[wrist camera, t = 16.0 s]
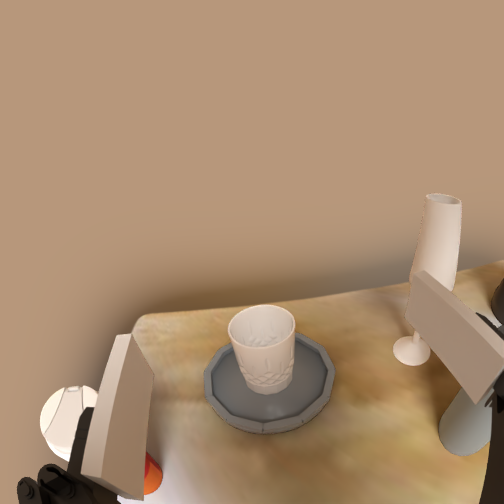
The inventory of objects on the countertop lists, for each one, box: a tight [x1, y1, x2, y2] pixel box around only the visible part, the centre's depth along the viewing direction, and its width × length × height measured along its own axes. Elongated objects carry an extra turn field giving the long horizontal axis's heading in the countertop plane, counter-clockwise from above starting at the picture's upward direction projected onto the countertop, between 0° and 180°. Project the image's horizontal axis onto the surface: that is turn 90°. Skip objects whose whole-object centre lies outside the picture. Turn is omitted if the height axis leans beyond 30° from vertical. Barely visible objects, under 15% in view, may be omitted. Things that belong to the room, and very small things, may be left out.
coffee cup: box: [40, 386, 162, 495], centre depth 18 cm, size 8×8×15 cm
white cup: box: [228, 305, 295, 395], centre depth 33 cm, size 8×8×10 cm
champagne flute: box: [393, 194, 462, 366], centre depth 30 cm, size 7×7×24 cm
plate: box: [204, 333, 336, 434], centre depth 35 cm, size 18×18×2 cm
